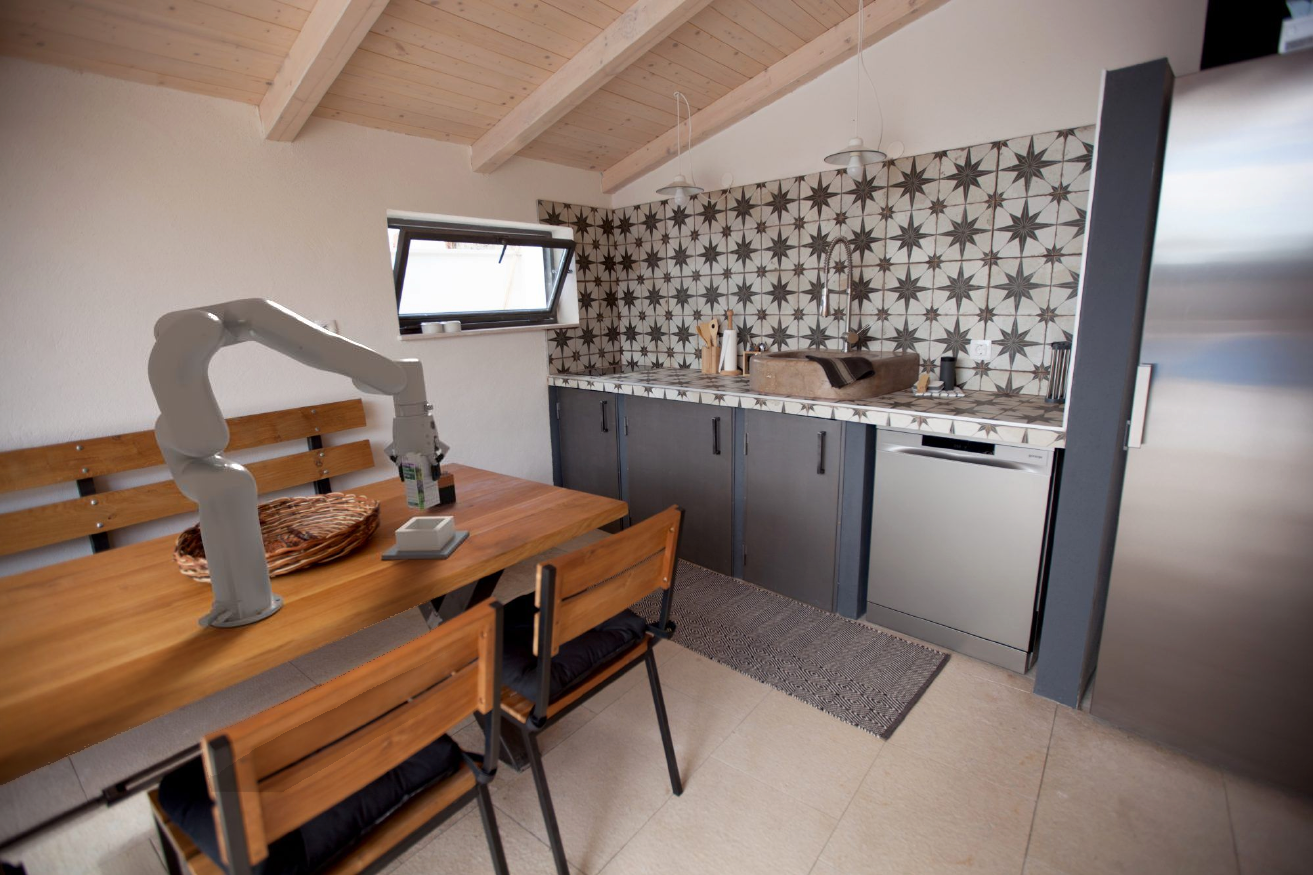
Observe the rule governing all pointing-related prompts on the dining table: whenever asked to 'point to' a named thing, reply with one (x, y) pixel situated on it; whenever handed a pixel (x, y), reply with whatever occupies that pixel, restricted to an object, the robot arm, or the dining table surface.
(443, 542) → the socket
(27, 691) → the dining table surface
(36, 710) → the dining table surface
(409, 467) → the syrup box
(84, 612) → the dining table surface
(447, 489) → the battery
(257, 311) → the robot arm
